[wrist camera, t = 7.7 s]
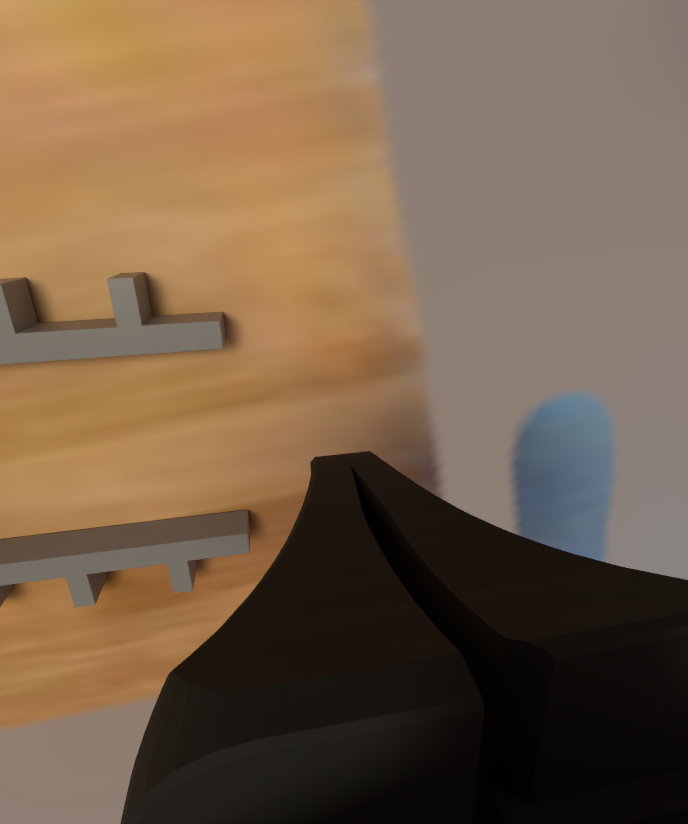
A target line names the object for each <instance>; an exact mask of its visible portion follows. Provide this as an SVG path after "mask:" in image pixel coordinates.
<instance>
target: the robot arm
mask: <svg viewBox="0 0 688 824" xmlns="http://www.w3.org/2000/svg"><path fill="white" fill-rule="evenodd" d="M310 463H311V478H310V483H309V487H308V490H307V493H306V497H305V500H304V503H303V506H302V508H301V511H300V513H299V515H298V517H297V520H296V522H295V524H294V527H293V529H292V531H291V533H290V535H289V537H288V539H287V540H286V542H285V544H284V546H283V548H282V549H281V551H280V553H279V554H278V556H277V558H276V559H275V561H274V562H273V564H272V565H271V566H270V568H269V569H268V571H267V572H266V574H265V575H264V577H263V578H262V579H261V581H260V582H259V583H258V585H257V586H256V587H255V589H254V590H253V591H252V592H251V594H250V595H249V596H248V597H247V598H246V599H245V600H244V602H243V603H242V604H241V605H240V606H239V607H238V608H237V610H236V611H235V612H234V613H233V614H232V615H231V616H230V617H229V619H228V620H227V621H226V622H225V623H224V624H223V625H222V626H221V627H220V628H219V629H218V630H217V631H216V632H215V633H214V634H213V635H212V636H211V637H210V638H209V639H208V640H207V641H206V642H204V643H203V644H202V645H201V646H200V647H199V648H198V649H197V650H195V651H194V652H193V653H192V654H191V655H190V656H189V657H188V658H186V659H185V660H184V661H183V662H182V663H181V664H180V665H178V666H177V667H176V668H175V669H173V670H172V671H171V672H170V673H169V675H168V677H167V679H166V681H165V683H164V685H163V688H162V690H161V692H160V695H159V697H158V700H157V702H156V704H155V707H154V709H153V712H152V715H151V717H150V720H149V723H148V725H147V728H146V731H145V733H144V736H143V739H142V742H141V745H140V748H139V751H138V754H137V757H136V760H135V763H134V767H133V771H132V775H131V778H130V783H129V787H128V792H127V797H126V801H125V806H124V810H123V815H122V819H121V824H688V580H684V579H680V578H675V577H669V576H665V575H660V574H655V573H650V572H645V571H640V570H634V569H630V568H625V567H620V566H616V565H613V564H609V563H605V562H601V561H598V560H594V559H590V558H586V557H583V556H579V555H575V554H572V553H569V552H566V551H562V550H559V549H556V548H553V547H550V546H547V545H544V544H541V543H538V542H535V541H533V540H530V539H527V538H524V537H521V536H519V535H516V534H513V533H511V532H508V531H506V530H503V529H501V528H499V527H496V526H494V525H492V524H490V523H488V522H485V521H483V520H481V519H479V518H477V517H474V516H472V515H470V514H468V513H466V512H464V511H462V510H460V509H458V508H456V507H455V506H453V505H451V504H450V503H448V502H446V501H444V500H442V499H441V498H439V497H437V496H435V495H434V494H432V493H431V492H429V491H427V490H426V489H424V488H422V487H421V486H419V485H418V484H416V483H415V482H413V481H412V480H410V479H409V478H407V477H406V476H404V475H403V474H401V473H400V472H399V471H397V470H396V469H394V468H393V467H392V466H390V465H389V464H387V463H386V462H384V461H383V460H382V459H380V458H379V457H377V456H376V455H375V454H373V453H371V452H370V451H367V452H358V453H349V454H340V455H330V456H321V457H315V458H314V459H313V460H312V461H311V462H310Z"/></svg>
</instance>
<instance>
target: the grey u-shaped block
mask: <svg viewBox="0 0 688 824" xmlns="http://www.w3.org/2000/svg"><path fill="white" fill-rule="evenodd" d="M107 281H108V286H109V291H110V296H111V300H112V305H113V310H114V314H115V318H112V319H96V320H79V321H62V322H46V323H38V321H37V317H36V314H35V310H34V306H33V303H32V299H31V295H30V292H29V288H28V284H27V281H26V278H10V279H0V364H14V363H28V362H42V361H56V360H71V359H85V358H99V357H113V356H127V355H141V354H155V353H169V352H183V351H197V350H212V349H223V347H224V343H225V339H226V334H225V326H224V318H223V312H213V313H196V314H179V315H162V316H152V312H151V306H150V301H149V295H148V290H147V284H146V279H145V273H144V272H138V273H121V274H118V275H116V276H113V277H110V278H108V279H107ZM244 553H250V524H249V516H248V510H242V511H233V512H225V513H217V514H208V515H200V516H192V517H183V518H175V519H166V520H158V521H150V522H141V523H133V524H125V525H116V526H108V527H100V528H91V529H83V530H75V531H66V532H58V533H50V534H41V535H33V536H25V537H16V538H8V539H0V606H1V605H2V603H3V602H4V600H5V599H6V597H7V596H8V594H9V593H10V591H11V590H12V585H11V584H18V583H25V582H33V581H40V580H48V579H55V578H63V577H66V580H67V583H68V586H69V590H70V593H71V596H72V599H73V602H74V605H75V607H81V606H88V605H95V604H96V602H97V599H98V597H99V595H100V592H101V590H102V587H103V585H104V583H105V580H106V578H107V572H108V571H116V570H123V569H131V568H138V567H146V566H153V565H161V564H168V569H169V573H170V578H171V583H172V587H173V592H174V593H180V592H187V591H193V587H194V581H195V575H196V569H197V560H198V559H206V558H213V557H221V556H229V555H236V554H244Z"/></svg>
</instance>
